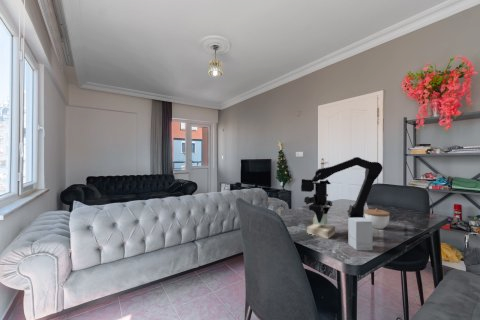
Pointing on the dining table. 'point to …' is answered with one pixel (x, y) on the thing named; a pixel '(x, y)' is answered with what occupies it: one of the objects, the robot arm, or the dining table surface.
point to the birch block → (321, 230)
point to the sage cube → (323, 222)
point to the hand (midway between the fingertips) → (321, 221)
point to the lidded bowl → (377, 218)
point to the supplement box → (360, 233)
